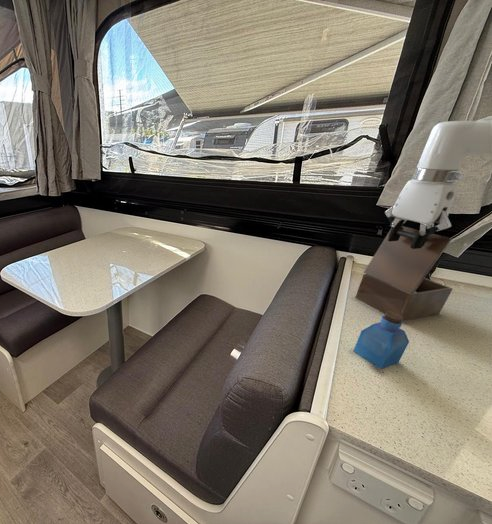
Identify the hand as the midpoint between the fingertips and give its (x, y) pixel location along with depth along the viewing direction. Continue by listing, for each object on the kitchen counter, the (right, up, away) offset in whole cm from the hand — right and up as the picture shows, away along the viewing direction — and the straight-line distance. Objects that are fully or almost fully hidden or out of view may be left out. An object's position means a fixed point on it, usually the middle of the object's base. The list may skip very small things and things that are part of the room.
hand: (404, 243), depth 75 cm
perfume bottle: (-16, -28, -10) cm, 34 cm away
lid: (+2, -4, +2) cm, 5 cm away
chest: (+7, -19, +10) cm, 23 cm away
